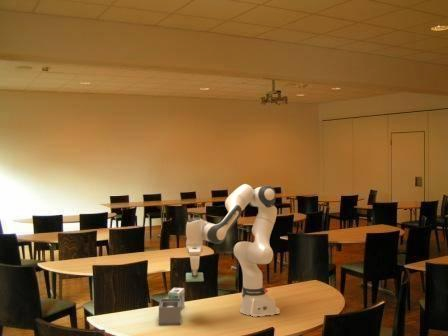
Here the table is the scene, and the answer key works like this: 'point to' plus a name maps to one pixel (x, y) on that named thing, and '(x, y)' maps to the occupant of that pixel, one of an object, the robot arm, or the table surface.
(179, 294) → the light bulb box
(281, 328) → the table surface
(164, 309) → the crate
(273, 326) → the table surface
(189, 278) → the lid
